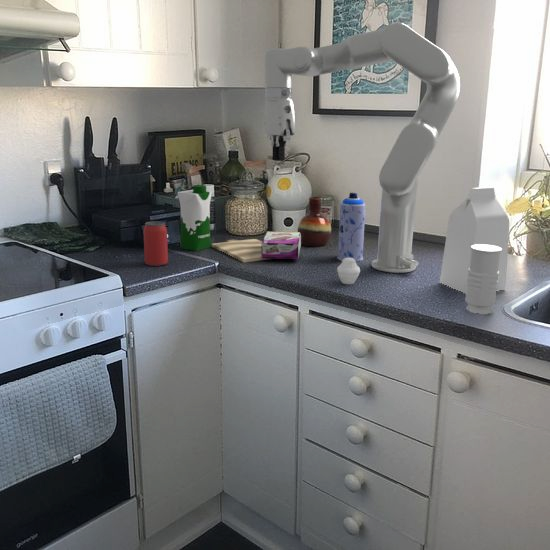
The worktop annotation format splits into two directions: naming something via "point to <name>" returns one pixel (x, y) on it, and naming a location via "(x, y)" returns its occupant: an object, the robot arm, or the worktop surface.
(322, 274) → the worktop surface
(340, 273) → the white rounded jar
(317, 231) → the vase
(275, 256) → the candy bar box
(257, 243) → the cutting board
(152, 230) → the beer can
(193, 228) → the milk carton
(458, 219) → the milk
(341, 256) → the aerosol can
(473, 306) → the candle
